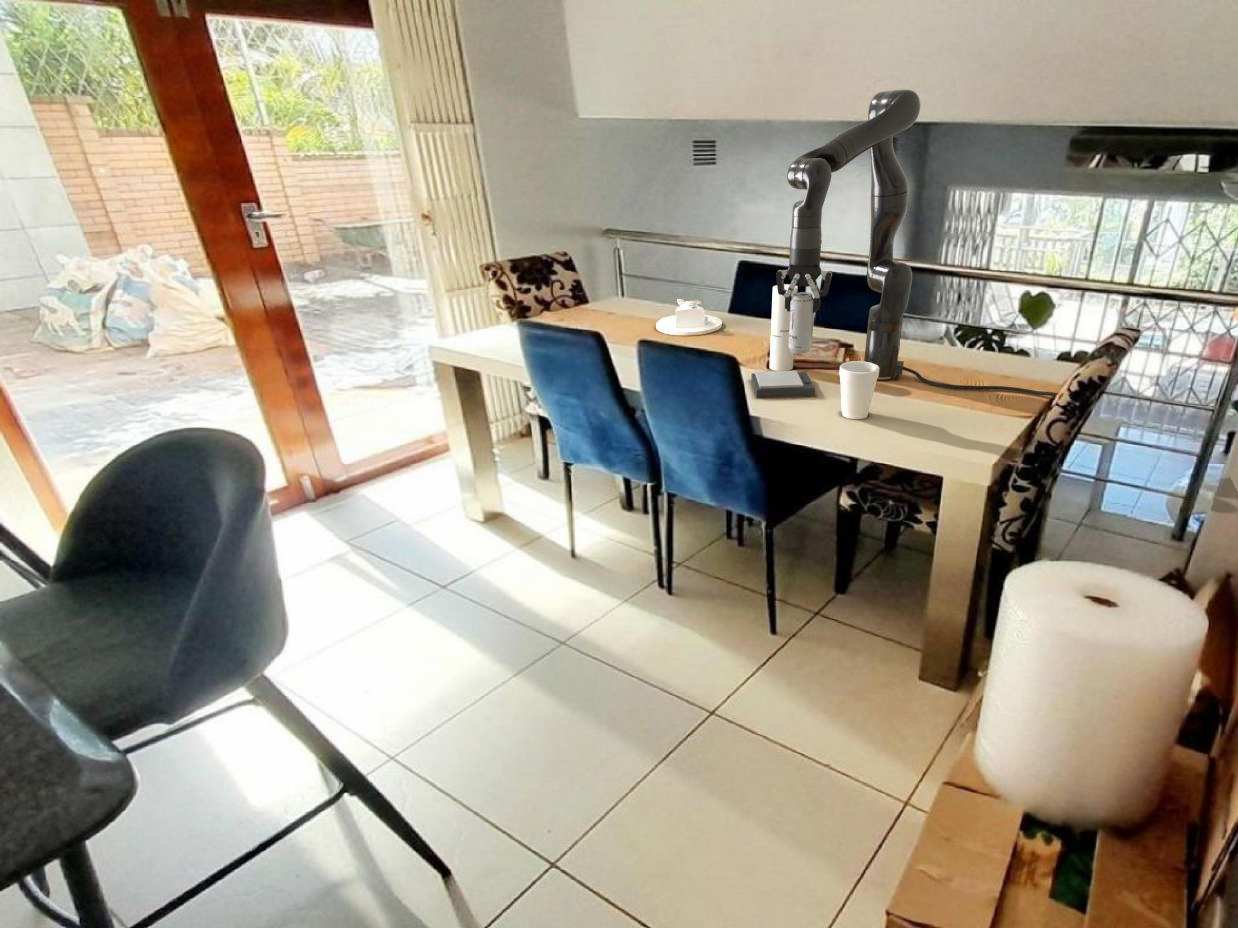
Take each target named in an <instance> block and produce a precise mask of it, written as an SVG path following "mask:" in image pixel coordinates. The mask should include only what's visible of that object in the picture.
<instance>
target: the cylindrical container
mask: <svg viewBox="0 0 1238 928" xmlns="http://www.w3.org/2000/svg"><path fill="white" fill-rule="evenodd" d="M790 284H791V283H789V284H788V283H786V284H785V283H784V289H785V290H788V288H789V286H790ZM798 287H799V286H795V288H794V289H793V291H792V293H791V296H792V298H793V294H794V293H798V289H799V288H798ZM771 298H772V299H771V300H772V301H771V321H770V322H771V323H770V324H771V325H770V348H769V369H770V370H771V371H792V370H793V369H794V357H795V356H794V354H795V353H793V352H791V349H790V348H789V326H790V312H787V309H785V297H784V296H783V295H779V294H778V288H777V284H776V285H773V286H772V297H771Z"/></svg>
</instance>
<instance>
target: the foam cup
mask: <svg viewBox="0 0 1238 928" xmlns="http://www.w3.org/2000/svg"><path fill="white" fill-rule="evenodd" d="M878 376H879V367H878V365H876V364H873V363H870V362H864V360H862V361H861V360H854V361H853V360H852V361H846V362H843V363H841V364H840V365H839V381H840V383H839V384H840V403H841V414H842V416H843V417H845V418H847V419H850V420H863V419H865V418H867V417H868V415H869V411H870V408H871V404H872V400H873V396H874V393H875V389H876V385H877V381H878V380H877V378H878Z"/></svg>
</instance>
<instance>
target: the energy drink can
mask: <svg viewBox="0 0 1238 928" xmlns="http://www.w3.org/2000/svg"><path fill="white" fill-rule="evenodd" d="M813 303H814V297H813V292H806V291H801V292H798V291H797V293H794V294H793V298H792V299H791V302H790V326H789V348H790V349H791V352H793V353H794V354H807V353H810V350H811V349H812V348H813V334H814V315H815V313H813Z"/></svg>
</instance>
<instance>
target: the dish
mask: <svg viewBox="0 0 1238 928" xmlns="http://www.w3.org/2000/svg"><path fill="white" fill-rule="evenodd" d="M676 302H677V304H678V305H679V306H678V307H676V309H675V310H674V315H670V316H666V317H663V318H661V319H659V320H657V321H656V324H655V328H656V330H657V331H658V332H660V333H663V334H665V335H672V336H684V337H685V336H686V337H688V336H700V335H706V334H710V333H714V332H716V331H719V330H720V329H722V325H723V320H722V319H720V318H719V317H716V316H714V315H710V314H705V308H704V307H702V306H699V305H701V304H702V301H701V300H699V299H695V300H690V301H689V300H684V299H682V298H677V300H676Z"/></svg>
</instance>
